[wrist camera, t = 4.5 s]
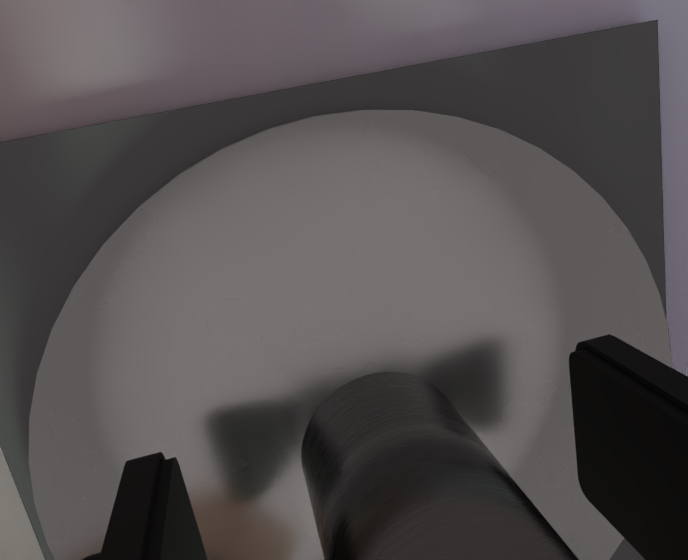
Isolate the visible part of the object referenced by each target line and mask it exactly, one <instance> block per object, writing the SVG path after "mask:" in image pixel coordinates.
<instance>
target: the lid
mask: <svg viewBox="0 0 688 560" xmlns="http://www.w3.org/2000/svg"><path fill="white" fill-rule="evenodd" d="M609 334H610V335H613V336H615V337H617V338H619V339H620V340H622V341H624V342H626V343H628V344H629V345H631V346H633V347H635V348H637V349H638V350H640V351H642V352H644V353H646V354H647V355H649V356H651V357H653V358H655V359H656V360H658V361H660V362H662V363H664V364H665V365H667V366H669V367H671V368H672V359H671V349H670V340H669V331H668V326H667V322H666V318H665V314H664V310H663V306H662V301H661V297H660V294H659V291H658V289H657V286H656V284H655V281H654V279H653V276H652V274H651V271H650V269H649V266H648V264H647V261H646V259H645V258H644V256H643V254H642V252H641V251H640V249H639V247H638V246H637V244H636V242H635V240H634V239H633V237H632V235H631V234H630V232H629V230H628V229H627V227H626V226H625V225H624V223H623V222H622V221H621V220H620V218H619V217H618V216H617V215H616V213H615V212H614V211H613V210H612V208H611V207H610V206H609V205H608V203H607V202H606V201H605V200H604V199H603V197H602V196H601V195H599V194H598V193H597V192H596V191H595V190H594V189H593V188H592V187H591V186H590V185H588V184H587V183H586V182H585V181H584V180H583V179H582V178H581V177H580V176H579V175H578V174H576V173H575V172H574V171H573V170H572V169H570V168H569V167H567V166H566V165H564V164H563V163H561V162H560V161H558V160H557V159H555V158H554V157H552V156H551V155H549V154H548V153H546V152H545V151H543V150H542V149H540V148H539V147H536V146H534V145H532V144H530V143H528V142H526V141H524V140H522V139H519V138H517V137H515V136H513V135H511V134H509V133H507V132H505V131H502V130H500V129H497V128H493V127H490V126H487V125H483V124H480V123H477V122H474V121H470V120H467V119H464V118H460V117H456V116H449V115H442V114H435V113H429V112H422V111H415V110H355V111H347V112H340V113H332V114H325V115H318V116H310V117H306V118H302V119H299V120H295V121H292V122H288V123H284V124H281V125H277V126H274V127H270V128H266V129H263V130H261V131H259V132H256V133H254V134H252V135H249V136H247V137H245V138H242V139H240V140H238V141H235V142H233V143H231V144H228V145H226V146H224V147H221V148H220V149H218V150H216V151H215V152H213V153H211V154H210V155H208V156H206V157H205V158H203V159H201V160H200V161H198V162H196V163H195V164H193V165H191V166H190V167H188V168H186V169H185V170H183V171H181V172H180V173H179V174H177V175H176V176H175V177H174V178H172V179H171V180H170V181H169V182H167V183H166V184H165V185H164V186H162V187H161V188H160V189H159V190H157V191H156V192H155V193H154V194H152V195H151V196H150V197H149V198H148V199H146V200H145V201H144V202H143V203H142V204H141V205H140V206H139V207H138V208H137V209H136V210H135V211H134V212H133V213H132V214H131V215H130V216H129V218H128V219H127V220H126V221H125V222H124V223H123V224H122V225H121V226H120V227H119V228H118V229H117V230H116V231H115V232H114V234H113V235H112V236H111V237H110V238H109V239H108V240H107V241H106V242H105V243H104V244H103V245H102V247H101V248H100V250H99V251H98V252H97V254H96V255H95V257H94V258H93V259H92V261H91V262H90V264H89V265H88V267H87V268H86V269H85V271H84V272H83V274H82V275H81V276H80V278H79V279H78V281H77V282H76V284H75V285H74V287H73V288H72V290H71V292H70V294H69V296H68V298H67V300H66V302H65V304H64V306H63V308H62V310H61V312H60V314H59V316H58V318H57V320H56V322H55V324H54V326H53V328H52V330H51V333H50V336H49V339H48V342H47V345H46V348H45V351H44V354H43V357H42V360H41V363H40V366H39V369H38V372H37V376H36V382H35V388H34V394H33V399H32V405H31V411H30V417H29V469H30V476H31V482H32V489H33V496H34V503H35V507H36V510H37V513H38V517H39V520H40V523H41V526H42V529H43V533H44V536H45V539H46V542H47V545H48V547H49V549H50V551H51V553H52V555H53V557H54V559H55V560H82V559H84V558H85V557H86V556H89V555H93V554H96V553H100V552H101V550H102V546H103V543H104V539H105V535H106V532H107V528H108V524H109V520H110V517H111V513H112V509H113V506H114V502H115V498H116V495H117V491H118V487H119V484H120V480H121V476H122V473H123V469H124V465H125V463H126V461H128V460H132V459H135V458H139V457H143V456H147V455H151V454H154V453H158V452H162V453H163V455H164V457H165V459H170V458H174V457H176V458H177V460H178V463H179V466H180V469H181V472H182V476H183V479H184V482H185V485H186V489H187V492H188V495H189V499H190V502H191V505H192V509H193V512H194V515H195V519H196V522H197V525H198V529H199V532H200V535H201V539H202V542H203V545H204V549H205V552H206V555H207V559H208V560H610V558H611V557H612V555H613V554H614V552H615V551H616V549H617V548H618V546H619V545H620V543H621V542H622V540H623V539H624V537H623V536H622V535H621V534H620V533H619V532H618V531H617V530H616V529H615V528H614V527H613V526H612V525H611V524H610V523H609V521H608V520H607V519H606V518H605V517H604V516H603V515H602V514H601V513H600V512H599V511H598V510H597V509H596V508H595V507H594V506H593V505H592V504H591V503H590V502H589V501H588V499H587V498H586V497H585V495H584V494H583V492H582V490H581V487H580V484H579V480H578V471H577V459H576V446H575V434H574V422H573V409H572V397H571V385H570V372H569V355H570V354H571V352H575V349H576V345H577V344H578V343H579V342H582V341H585V340H589V339H593V338H597V337H601V336H604V335H609Z"/></svg>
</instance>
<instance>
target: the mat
mask: <svg viewBox="0 0 688 560" xmlns="http://www.w3.org/2000/svg"><path fill="white" fill-rule="evenodd" d="M355 110H415V111H422V112H429V113H435V114H442V115H449V116H456V117H460V118H464V119H467V120H470V121H474V122H477V123H480V124H483V125H487V126H490V127H493V128H497V129H500V130H502V131H505V132H507V133H509V134H511V135H513V136H515V137H517V138H519V139H522V140H524V141H526V142H528V143H530V144H532V145H534V146H536V147H539V148H540V149H542V150H543V151H545V152H546V153H548V154H549V155H551V156H552V157H554V158H555V159H557V160H558V161H560V162H561V163H563V164H564V165H566V166H567V167H569V168H570V169H572V170H573V171H574V172H575V173H576V174H578V175H579V176H580V177H581V178H582V179H583V180H584V181H585V182H586V183H587V184H588V185H590V186H591V187H592V188H593V189H594V190H595V191H596V192H597V193H598V194H599V195H601V196H602V197H603V199H604V200H605V201H606V202H607V203H608V205H609V206H610V207H611V208H612V210H613V211H614V212H615V213H616V215H617V216H618V217H619V218H620V220H621V221H622V222H623V223H624V225H625V226H626V227H627V229H628V230H629V232H630V234H631V235H632V237H633V239H634V240H635V242H636V244H637V246H638V247H639V249H640V251H641V252H642V254H643V256H644V258H645V259H646V261H647V264H648V266H649V269H650V271H651V274H652V276H653V279H654V281H655V284H656V286H657V289H658V291H659V294H660V297H661V301H662V306H663V310H664V314H665V318H666V294H665V260H664V226H663V191H662V157H661V123H660V88H659V54H658V20H654V21H648V22H643V23H638V24H632V25H627V26H622V27H616V28H611V29H605V30H600V31H595V32H589V33H584V34H579V35H573V36H568V37H563V38H557V39H552V40H547V41H541V42H536V43H530V44H525V45H520V46H514V47H509V48H504V49H498V50H493V51H488V52H482V53H477V54H471V55H466V56H461V57H455V58H450V59H445V60H439V61H434V62H429V63H423V64H418V65H413V66H407V67H402V68H396V69H391V70H386V71H380V72H375V73H370V74H364V75H359V76H354V77H348V78H343V79H338V80H332V81H327V82H321V83H316V84H311V85H305V86H300V87H295V88H289V89H284V90H279V91H273V92H268V93H263V94H257V95H252V96H246V97H241V98H236V99H230V100H225V101H220V102H214V103H209V104H204V105H198V106H193V107H188V108H182V109H177V110H171V111H166V112H161V113H155V114H150V115H145V116H139V117H134V118H129V119H123V120H118V121H113V122H107V123H102V124H96V125H91V126H86V127H80V128H75V129H70V130H64V131H59V132H54V133H48V134H43V135H38V136H32V137H27V138H21V139H16V140H11V141H5V142H0V446H1V449H2V451H3V454H4V457H5V459H6V462H7V464H8V467H9V469H10V472H11V474H12V477H13V479H14V482H15V484H16V487H17V489H18V492H19V494H20V497H21V500H22V502H23V505H24V507H25V510H26V512H27V515H28V517H29V520H30V522H31V525H32V527H33V530H34V532H35V535H36V537H37V540H38V543H39V545H40V548H41V550H42V553H43V555H44V558H45V560H55V559H54V557H53V555H52V553H51V551H50V549H49V547H48V545H47V542H46V539H45V536H44V533H43V529H42V526H41V523H40V520H39V517H38V513H37V510H36V507H35V503H34V496H33V489H32V482H31V476H30V469H29V417H30V411H31V405H32V399H33V394H34V388H35V382H36V376H37V372H38V369H39V366H40V363H41V360H42V357H43V354H44V351H45V348H46V345H47V342H48V339H49V336H50V333H51V330H52V328H53V326H54V324H55V322H56V320H57V318H58V316H59V314H60V312H61V310H62V308H63V306H64V304H65V302H66V300H67V298H68V296H69V294H70V292H71V290H72V288H73V287H74V285H75V284H76V282H77V281H78V279H79V278H80V276H81V275H82V274H83V272H84V271H85V269H86V268H87V267H88V265H89V264H90V262H91V261H92V259H93V258H94V257H95V255H96V254H97V252H98V251H99V250H100V248H101V247H102V245H103V244H104V243H105V242H106V241H107V240H108V239H109V238H110V237H111V236H112V235H113V234H114V232H115V231H116V230H117V229H118V228H119V227H120V226H121V225H122V224H123V223H124V222H125V221H126V220H127V219H128V218H129V216H130V215H131V214H132V213H133V212H134V211H135V210H136V209H137V208H138V207H139V206H140V205H141V204H142V203H143V202H144V201H145V200H146V199H148V198H149V197H150V196H151V195H152V194H154V193H155V192H156V191H157V190H159V189H160V188H161V187H162V186H164V185H165V184H166V183H167V182H169V181H170V180H171V179H172V178H174V177H175V176H176V175H177V174H179V173H180V172H181V171H183V170H185V169H186V168H188V167H190V166H191V165H193V164H195V163H196V162H198V161H200V160H201V159H203V158H205V157H206V156H208V155H210V154H211V153H213V152H215V151H216V150H218V149H220V148H221V147H224V146H226V145H228V144H231V143H233V142H235V141H238V140H240V139H242V138H245V137H247V136H249V135H252V134H254V133H256V132H259V131H261V130H263V129H266V128H270V127H274V126H277V125H281V124H284V123H288V122H292V121H295V120H299V119H302V118H306V117H310V116H318V115H325V114H332V113H340V112H347V111H355ZM610 560H645V559H644V558H643V557H642V556H641V555H640V554H639V553H638V552H637V551H636V550H635V549H634V547H633V546H632V545H631V544H630V543H629V542H628V541H627V540H626V539H625V538H624V539H623V540H622V542H621V543H620V545H619V546H618V548H617V549H616V551H615V552H614V554H613V555H612V557H611V558H610Z"/></svg>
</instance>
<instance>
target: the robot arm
mask: <svg viewBox="0 0 688 560" xmlns="http://www.w3.org/2000/svg"><path fill="white" fill-rule="evenodd" d="M569 372H570V385H571V397H572V409H573V422H574V434H575V446H576V459H577V471H578V480H579V484H580V487H581V490H582V492H583V494H584V495H585V497H586V498H587V499H588V501H589V502H590V503H591V504H592V505H593V506H594V507H595V508H596V509H597V510H598V511H599V512H600V513H601V514H602V515H603V516H604V517H605V518H606V519H607V520H608V521H609V523H610V524H611V525H612V526H613V527H614V528H615V529H616V530H617V531H618V532H619V533H620V534H621V535H622V536H623V537H624V538H625V539H626V540H627V541H628V542H629V543H630V544H631V545H632V546H633V547H634V549H635V550H636V551H637V552H638V553H639V554H640V555H641V556H642V557H643V558H644V559H645V560H688V377H687V376H685V375H683V374H682V373H680V372H678V371H676V370H674V369H673V368H671V367H669V366H667V365H665V364H664V363H662V362H660V361H658V360H656V359H655V358H653V357H651V356H649V355H647V354H646V353H644V352H642V351H640V350H638V349H637V348H635V347H633V346H631V345H629V344H628V343H626V342H624V341H622V340H620V339H619V338H617V337H615V336H613V335H610V334H609V335H604V336H601V337H597V338H593V339H589V340H585V341H582V342H579V343H578V344H577V345H576V349H575V352H571V354H570V355H569ZM82 560H208V559H207V555H206V552H205V549H204V545H203V542H202V539H201V535H200V532H199V529H198V525H197V522H196V519H195V515H194V512H193V509H192V505H191V502H190V499H189V495H188V492H187V489H186V485H185V482H184V479H183V476H182V472H181V469H180V466H179V463H178V460H177V458H176V457H174V458H170V459H165V457H164V455H163V453H162V452H158V453H154V454H151V455H147V456H143V457H139V458H135V459H132V460H128V461H126V463H125V465H124V469H123V473H122V476H121V480H120V484H119V487H118V491H117V495H116V498H115V502H114V506H113V509H112V513H111V517H110V520H109V524H108V528H107V532H106V535H105V539H104V543H103V546H102V550H101V552H100V553H96V554H93V555H89V556H86V557H85V558H84V559H82Z"/></svg>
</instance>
